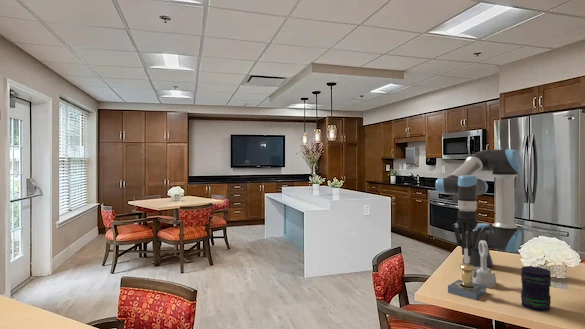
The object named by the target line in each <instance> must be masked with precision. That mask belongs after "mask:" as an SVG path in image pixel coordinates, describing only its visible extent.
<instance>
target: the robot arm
mask: <svg viewBox="0 0 585 329" xmlns="http://www.w3.org/2000/svg"><path fill="white" fill-rule="evenodd" d="M522 167H523V161H522V157H521V154H520V152H519V151H518V150H517V149H509V148H506V149H505V148H504V149H482V150H480V151H478V152H475V153H472V154H471V155H469V156H468V157H466V158H465V161H464V162H463V163H462V164H461V165H460V166H459V167H458V168H456V169H455V170H453V171H452V172H451V173H450V174H449V175H448V176H446V177H438V178H437V179H436V180H435V184H434V185H435V190H436V191H437V193H441V194H451V195H452V194H454V195H457V209H458V210H457V221H456V223H452V224H451V227H452V229H453V232H454V236H455V240H456V243H457V246H458V247H461V255H463V257H462V264H470V265H473V266H475V268H476V267H481V258H480V254H479V242H480V241H481V240H483V241H486V242H487V245H488V256H487V268H489V269H492V268H493V267H494V263H493V260H492V259H493V258H492V256H491V253H490V250H491V249H492V250H498V251H503V252H506V253H507V252H510V253H516V252H517V251H518V250H519V249H520V247H521V244H522V239H523V233H522V231H521V230H519V228H518V225H516V224H515V178H516V177H517V176H518V175H519V174H518V173H519V172H521V171H522V170H523V168H522ZM480 172H491V173H492V176H493V177H494V178H495V221H494V223H493V224H492V226H491V225H490V224H489V223H483V222H482V223H481V222H480V223H479V222H477V220H478V219H477V217H478V216H477V215H478V214H477V208H478V206H477V204H478V202H477V201H478V198H477V197H478V196H482V195H484V194H486V193H487V192H488V188H489V185H488V183H487V181H485V180H484V179H482V178H477V176H476V174H478V173H480Z"/></svg>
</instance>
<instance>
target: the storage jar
mask: <svg viewBox="0 0 585 329" xmlns="http://www.w3.org/2000/svg"><path fill="white" fill-rule="evenodd" d="M520 278H521V279H520V281H521V290H520V298H521V306H522V307H523V306H524V307H523V308H525V309H527V310H531V311H535V312H544V313H547V312H550V310H551V299H552V298H551V294H550V287H551V286H552V283H551V280H552V278H551V271H550V270H549V269H546V268H543V267H540V266H533V265H532V266H530V265H529V266H527V265H525V266H522V267H521V273H520Z"/></svg>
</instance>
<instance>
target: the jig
mask: <svg viewBox="0 0 585 329" xmlns="http://www.w3.org/2000/svg"><path fill="white" fill-rule="evenodd" d="M447 293H448V294H453V295H456V296H459V297H463V298H467V299H471V300H476V301H477V300H479V299H480V298H481V297H483V296H484V295H485V294H487V287H486V286H484V285H480V284H475V283H473V288H465V287H462V279H457V280H456V281H454V282H452V283H450V284H449V285H447Z"/></svg>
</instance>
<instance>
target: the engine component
mask: <svg viewBox="0 0 585 329" xmlns="http://www.w3.org/2000/svg"><path fill="white" fill-rule="evenodd" d="M479 254H480V258H481V267H476V268H475V270H473V283H475V284H480V285H484V286H486V288H488V289H490V288H495V287H496V286H497V278H496V277H497V276H496V273H495V272H494V273H492V270H491V268H487V256H488V245H487V242H486V241H483V240H481V241H480V242H479Z"/></svg>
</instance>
